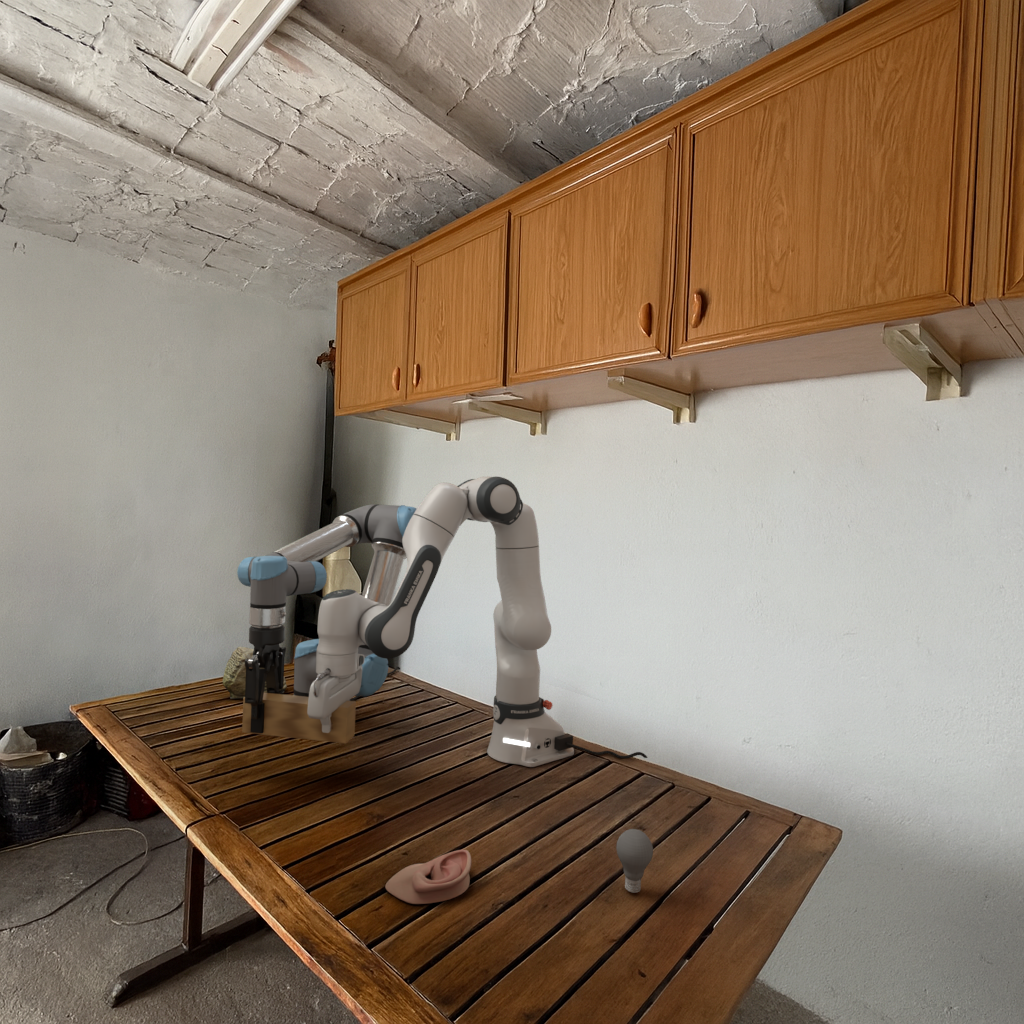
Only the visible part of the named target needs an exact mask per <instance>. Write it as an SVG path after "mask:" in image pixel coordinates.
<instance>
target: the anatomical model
mask: <svg viewBox="0 0 1024 1024" xmlns="http://www.w3.org/2000/svg"><path fill="white" fill-rule="evenodd" d="M471 868H472V856H471V853H470V852H469V850H467V849H457V850H454V851H451V852H450V851H449V852H447V853H445V854H442V855H440V856H437V857H436V858H434V859H431V860H429V861H427V862H424V863H414V864H411V865H408V866H406V867H404V868H402V869H400V870H399V871H398V872H396V873H395V874H394V875H393V876H391V877H390V879H388V880H387V882H386V884H385V890H386V891H387V892H388V893H389V894H390V895H392V896H393V897H395V898H397V899H399V900H401V901H403V902H405V903H407V904H410V905H411V904H412V905H426V904H433V903H439V902H444V901H447V900H451V899H454V898H456V897H459V896H460V895H462V894H463V893H465V892H466V891H467V890H468V889H469V887H470V883H471V881H470V880H471V878H470V871H471Z"/></svg>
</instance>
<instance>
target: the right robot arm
mask: <svg viewBox="0 0 1024 1024" xmlns="http://www.w3.org/2000/svg"><path fill="white" fill-rule="evenodd" d="M466 520H467V521H474V522H478V523H479V522H480V523H481V522H482V523H490V524H491V525H492V528H493V532H494V535H495V537H494V538H495V539H494V541H495V543H494V544H495V560H496V561H495V564H496V565H495V566H496V581H497V583H498V587H499V592H500V598H501V600H500V601H498V603H496V605H495V607H494V609H493V614H492V617H493V618H492V619H493V625H494V627H493V628H494V646H495V659H496V681H495V682H496V683H495V695H494V697H493V708H492V717H493V719H492V720H493V724H492V730H491V736H490V738H489V743H488V746H487V749H486V753H487V755H488V756H489V757H490V758H491V759H493V760H495V761H498V762H501V763H505V764H511V765H519V766H523V767H527V768H535V767H539V766H541V765H544V764H545V765H546V764H548V763H552V762H555V761H558V760H561V759H565V758H568V757H572V756H574V755H575V749H576V750H578V751H579V750H580V751H582V752H584V753H585V752H586V753H588V754H590V755H593V756H603V755H611V756H613V757H615V758H616V759H620V760H627V759H631V758H633V757H636V756H641V757H643V758H644V759H648V755H646V754H645V753H643V752H641V751H636V752H632V753H630V754H628V755H620V754H618V753H616V752H614V751H611V750H603V751H593V750H590V749H588V748H586V747H582V746H580V745H576V744H574V735H572V734H570V733H568V732H567V733H565V730H564V727H563V726H562V725H561V724H560V723H559V722H558V721H557V720H555V719H554V718H553V717H552V716H551V715H550V714H548V713H547V712H546V711H545V709H546V710H547V711H550V710H551V709H552V708H553V706H554V705H553V702H552V701H549V700H548V699H544V698H542V697H541V696H540V683H541V665H540V662H539V656H538V650H540V649H541V648H543V647H544V646H545V645H546V644H547V643H548V642H549V640H550V638H551V636H552V624H551V621H550V617H549V615H548V610H547V603H546V598H545V593H544V588H543V583H542V575H541V560H540V559H541V558H540V555H541V554H540V540H539V539H540V537H539V532H538V525H537V520H536V516H535V511H534V510H533V508H532V507H531V506H530V505H528V504H526V503H524V502H523V500H522V498H521V496H520V493H519V490H518V488H517V487H516V485H515V484H514V483H513V482H512V481H511V480H509V479H507V478H505V477H502V476H480V477H476V478H470V479H467V480H464V481H463V482H461V483H460V484H458V485H456V484H453V483H450V482H438V483H436V484H435V485H434V486H433V487H432V488H431V489H430V490H429V491H428V493H427V494H426V495H425V496H424V497H423V499H422V501H421V502H420V503H419V505H418V506H417V507H416V511H415V512H414V514H413V516H412V518H411V519H410V521H409V523H408V525H407V527H406V530H405V532H404V535H403V538H402V543H403V548H404V551H405V553H406V556H407V558H406V560H407V561H406V563H407V565H406V570H405V573H404V576H403V577H402V580H401V582H400V583H399V586H398V588H397V589H396V591H395V594H394V597H393V600H392V602H391V603H390V605H389V606H387V605H384V604H382V603H378V602H375V601H372V600H370V599H367V598H365V597H363V596H362V594H360V593H358V592H357V591H356V590H355V589H349V588H348V589H347V588H345V589H337V590H333V591H331V592H328V593H326V594H325V595H324V596H323V597H322V599H321V601H320V604H319V609H318V615H317V632H316V633H317V635H318V639H319V643H318V646H317V654H316V673H317V674H318V675H317V678H316V680H315V681H313V683H312V684H311V687H310V691H309V699H308V710H307V714H308V716H309V718H312V719H320V721H321V723H322V732H323V733H329V732H330V731H331V730H332V726H333V723H331V719H330V717H331V715H332V712H334V711H335V710H336V709H338V707H339V706H341V705H342V704H343V703H345V702H346V701H350V699H352V698H354V697H356V696H355V695H356V694H358V693H359V690H360V687H361V680H362V664H364V659H365V656H364V655H363V654H358V647H359V646H360V645H367V646H368V647H369V648H370V650H371V651H372V652H373V653H374V654H375V655H377V656H378V657H381V658H386V659H387V660H388V659H394V658H397V657H400V656H402V655H403V654H404V653H405V652H407V651H408V649H409V648H410V647H411V645H412V643H413V640H414V637H415V631H416V623H417V619H418V617H419V614H420V611H421V608H422V607H423V605H424V602H425V601H426V598H427V596H428V594H429V593H430V590H431V588H432V586H433V583H434V581H435V579H436V577H437V574H438V572H439V569H440V566H441V565H442V562H443V559H444V557H445V555H446V553H447V551H448V549H449V547H450V546H451V543H452V542H453V540H454V538H455V536H456V535H457V532H458V530H459V528H460V527H461V526H462V524H463V523H464V522H465V521H466Z"/></svg>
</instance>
